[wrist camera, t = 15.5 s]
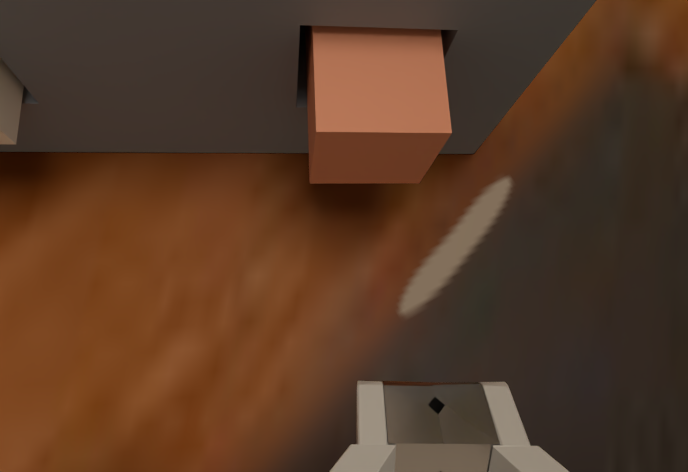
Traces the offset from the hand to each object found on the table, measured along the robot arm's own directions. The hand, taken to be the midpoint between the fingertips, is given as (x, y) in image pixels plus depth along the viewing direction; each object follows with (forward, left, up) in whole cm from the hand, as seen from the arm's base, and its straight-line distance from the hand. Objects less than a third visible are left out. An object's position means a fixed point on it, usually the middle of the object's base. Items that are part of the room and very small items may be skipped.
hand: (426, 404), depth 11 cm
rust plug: (+11, -6, -7) cm, 14 cm away
